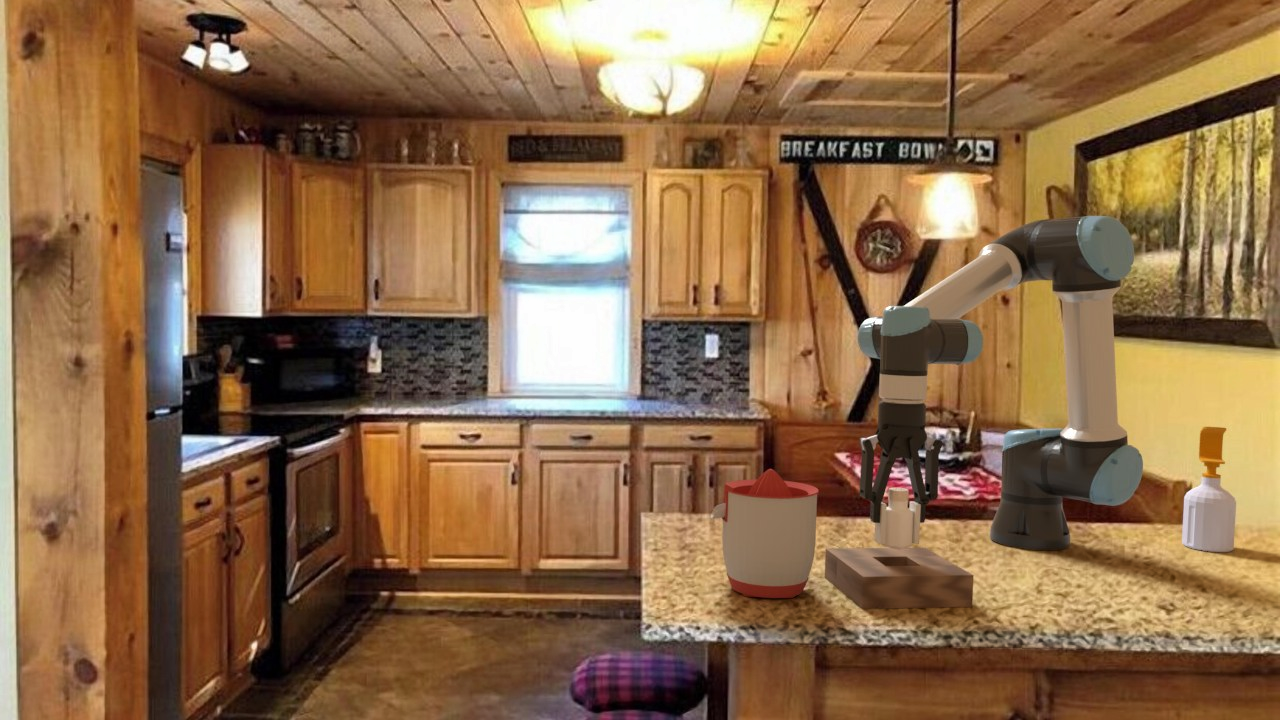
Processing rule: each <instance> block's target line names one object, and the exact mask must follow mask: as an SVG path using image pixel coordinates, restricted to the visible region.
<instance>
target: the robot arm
mask: <svg viewBox="0 0 1280 720" xmlns="http://www.w3.org/2000/svg"><path fill="white" fill-rule="evenodd" d="M1134 261H1135V246H1134V243H1133V239H1132V237H1131V234H1130V232H1129V230H1128V229H1127V227H1126V226H1125V225H1124V224H1123V223H1122V222H1121V221H1120V220H1119V219H1118V218H1115V217H1113V216H1109V215H1106V216H1104V215H1086V216H1077V217H1076V216H1074V217H1063V218H1052V219H1047V218H1045V219H1037V220H1034V221H1031V222H1028V223H1025V224H1023V225H1021V226H1018V227H1017V228H1014V229H1013V230H1011V231H1009V232H1007V233H1005V234H1003V235H1001V236H1000V237H998V238H996V239H994V240H993V241H992V242H990V243H989V244H987V245H985V246H984V247H983V248H982V249H981V250H980V252H979V253H978V256H977V257H976V258H975V259H974V260H972V261H971V262H969V263H967V264H965V265H964V266H963V267H961V268H960V269H958V270H956V271H955V272H953V273H952V274H950V275H949V276H947V277H945V278H944V279H943V280H941V281H940V282H938V283H937V284H935V285H933V286H932V287H931V288H929V289H927V290H926V291H924V292H923V293H922V294H920V295H918V296H917V297H915V298H914V299H912V300H911V301H909V302H907V303H906V304H905V305H889V306H887V307H885V308H884V309H883V312H882V315H879V316H875V317H869V318H866V319H864V321H863V322H862V323H861V324H860V327H858V331H857V344H858V347H859V349H860V351H861V352H862V354H864V355H865V356H867V357H868V358H872V359H878V360H880V362H879V363H880V366H879V383H878V384H879V385H878V387H879V389H878V397H879V398H880V399H882V400H880V401H879V402H878V404H877V405H878V407H877V408H878V412H877V429H876V431H875V433H874V435H871V436H868V437H859V439H858V442H859V447H860V451H861V459H860V461H861V462H860V477H859V478H860V479H859V496H860V497H861V498H863V499H864V500H866V501H867V500H868V501H869V502H870V510H869V511H870V512H869V514H870V515H869V519H870V522H872V523H874V539H873V540H874V541H875V542H876V543H878V544H879V545H881V544H885V532H886V508H887V507H888V505H887V504H886V503H885V502H883V499H884V495H885V493H886V489H887V486H888V483H889V479H890V476H891V473H892V469H893V466H894V464H895V463H896V460H897V459H900V458H904V460H905V462H906V467H907V471H908V476H909V481H910V485H911V489H912V495H913V499H914V501H911V500H910V501H909V507H908V508H909V509H911V510H912V511H913V512H914V514H913V539H912V544H914V545H919V544H920V533H921V531H920V529H921V524H922V523H925V522H926V521H925V520H926V508H927V507H926V506H927V505H928V504H929V503H930V501H934V500H935V501H936V500H937V499H938V496H939V464H940V463H939V457H940V456H939V454H940V452H941V450H942V447H943V444H944V443H943V441H942V440H941V439H939V438H934V437H930V436H928V434H927V432H926V429H925V427H926V419H927V416H926V415H927V405H926V403H924V401H925V400H927V397H928V396H927V395H928V393H927V391H928V372H929V371H928V370H929V368H928V367H929V365H931V364H932V365H957V366H960V365H962V364H964V365H965V364H969V363H973V362H974V361H975V360H977V358H978V357H979V356H980V355H981V353H982V351H983V347H984V335H983V332H982V330H981V329H980V327H979V325H977V324H976V322H974V321H972V320H966V319H962V317H963V316H964V315H966V314H968V313H969V312H970V311H972V310H974V309H975V308H976V307H978V306H979V305H981V304H983V303H984V302H985V301H987V300H988V299H990V298H991V297H993V296H995V295H996V294H998V293H999V292H1000V291H1009V290H1012V289H1015V288H1016V287H1017V286H1018V285H1021V284H1023V283H1028V282H1034V281H1035V282H1036V281H1051V284H1052V285H1051V287H1052V289H1051V290H1052V293H1053V294H1054V295H1055V296H1057V297H1058V298H1059V299H1060V301H1061V305H1062V306H1061V307H1062V308H1061V309H1062V310H1061V312H1062V326H1063V328H1062V329H1063V330H1062V331H1063V345H1064V347H1063V348H1064V350H1063V351H1064V366H1065V386H1066V403H1067V405H1066V407H1067V422H1068V423H1067V425H1066V426H1065V428H1061V427H1059V428H1029V429H1028V428H1026V429H1011V430H1009V431H1007V432H1006V433H1005V435H1004V437H1003V443H1002V445H1003V446H1002V449H1001V453H1002V454H1001V480H1000V481H1001V483H1000V486H1001V487H1000V490H1001V491H1000V502H999V505H998V507H997V509H996V513H995V515H994V517H993V520H992V523H991V526H990V529H989V530H990V531H989V532H990V533H989V538H990V540H991V541H993V542H995V543H997V544H1000V545H1004V546H1007V547H1008V546H1009V547H1014V548H1018V549H1026V550H1035V551H1036V550H1037V551H1054V550H1055V551H1057V550H1065V549H1069V547H1070V546H1071V532H1070V529H1069V526H1068V522H1067V519H1066V516H1065V512H1064V508H1063V498H1067V499H1072V500H1078V501H1083V502H1087V503H1092V504H1094V505H1098V506H1100V505H1105V506H1112V507H1113V506H1114V507H1115V506H1120V505H1123V504H1124V503H1126V502H1128V501H1129V500H1130V498H1132V496H1133V495H1135V491H1137V489H1138V487H1139V485H1140V483H1141V480H1142V476H1143V471H1144V459H1143V456H1142V454H1141V453H1140V450H1139V449H1138V448H1137V447H1135V446H1133V445H1131V444H1129V443H1128V441H1129V440H1128V432H1127V430H1126V429H1125V428H1124V427H1122V426H1121V425H1120V424H1119V421H1118V420H1119V419H1118V399H1117V397H1118V396H1117V376H1116V374H1117V373H1116V372H1117V371H1116V353H1115V333H1114V331H1115V329H1114V310H1113V307H1114V306H1113V297H1114V295H1115V294H1116V293H1117V292H1118V291H1119V290H1120V289H1121V287H1122V284H1121V280H1122V279H1125V278H1126V277H1127V276H1128V275H1129V274H1130V273H1131V271H1132V268H1133V267H1132V265H1134ZM877 444H878V445H879V447H880V448H881V454H880V457H879V460H880V461H879V465H878V468H877V471H876V475H875V479H874V467H875V466H874V463H875V452H874V451H875V449H876V447H877V446H876V445H877ZM923 446H924V449H925V456H924V457H925V460H924V461H925V465H924V478H923V474H922V469H921V464H920V463H921V459H920V453H919V451H920V449H922V447H923Z"/></svg>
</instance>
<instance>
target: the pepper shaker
mask: <svg viewBox="0 0 1280 720" xmlns="http://www.w3.org/2000/svg"><path fill="white" fill-rule="evenodd" d="M909 493H910V489H908V488H904V487H889V488H888V493H887V495H888V496H887V497H888V498H887V500H888V505H887V508H886V532H885V544H880V545H881V546H883V547H884V548H895V549H899V550H900V549H904V548H912V545H913V543H912V539H913V514H914V512H913V511H912V510H911V509H909V507H908V504H909V503H908V502H909V499H910V498H909V496H910V495H909Z"/></svg>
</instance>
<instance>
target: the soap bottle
mask: <svg viewBox="0 0 1280 720" xmlns="http://www.w3.org/2000/svg"><path fill="white" fill-rule="evenodd" d="M1226 432H1227V428H1226V427H1220V426H1203V427H1202V428H1201V430H1200V432H1199V445H1198V446H1199V447H1198V450H1199V451H1198V460H1199V461H1200V462H1201V463H1203V466H1204V467H1206V472H1203V473H1201V482H1200V484H1199V485H1198V486H1196V487H1193V488H1191V489H1190V490H1188V491H1186V493H1185V495H1184V497H1183V515H1182V530H1181V531H1182V535H1181V543H1182V545H1183V546H1185V547H1186V548H1188V549H1191V550H1192V549H1193V550H1195V549H1196V551H1201V550H1202V552H1207V551H1208V552H1209V553H1230V552H1232V551H1233V550H1234V548H1235V547H1234V546H1235V532H1236V531H1235V530H1236V512H1237V500H1236V498H1235V497H1234V496H1233V495H1232V494H1231V493H1230V492H1229V491H1228V490H1226V489H1224V488H1223V487H1222V485H1221V483H1222V482H1221V480H1222V479H1221V476H1222V475H1221V474H1219V473H1217V468H1220V465H1225V464H1226V462H1225V460H1223V444H1224V443H1223V441H1224V440H1223V439H1224V434H1225V433H1226Z"/></svg>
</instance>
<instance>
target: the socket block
mask: <svg viewBox="0 0 1280 720" xmlns="http://www.w3.org/2000/svg"><path fill="white" fill-rule="evenodd" d="M824 555H825V557H824V558H825V559H824V560H825V562H824V564H825V565H824V578H825V579H826V580H827V581H828V582H830V583H831V584H832V585H833V586H834V587H835V588H837V589H838V590H839V591H840V592H841V593H843V594H844V595H845V596H846V597H848V599H850V600H851V601H852V602H854V604H856V605H857V606H858V607H860V608H861V609H862V610H863V609H865V610H867V609H869V610H871V609H874V610H875V609H913V608H915V609H919V608H920V609H922V608H925V609H927V608H969V607H970V608H971V607H972V608H973V600H974V599H973V597H974V574H972V573H971V572H969V571H967V570H965V569H963V568H961V566H958V565H957V564H955V563H953V562H951V561H949V560H948V559H946V558H945V557H943V556H942V555H939V554H937V553H936V552H935V551H932V550H930V549H929V548H928V547H907V548H904V549H900V550H899V549H895V548H890V547H863V548H861V547H860V548H858V547H854V548H853V547H851V548H850V547H847V548H844V547H842V548H840V547H839V548H833V547H832V548H831V547H830V548H825V554H824Z"/></svg>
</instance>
